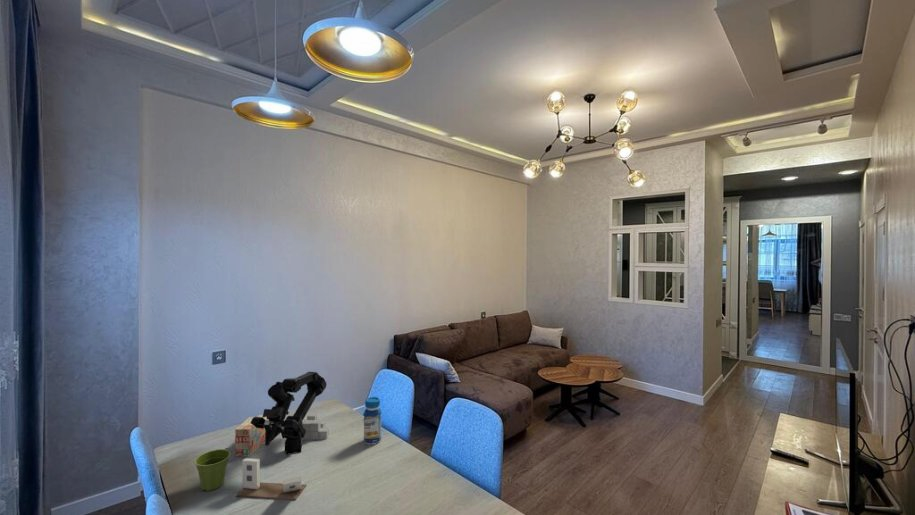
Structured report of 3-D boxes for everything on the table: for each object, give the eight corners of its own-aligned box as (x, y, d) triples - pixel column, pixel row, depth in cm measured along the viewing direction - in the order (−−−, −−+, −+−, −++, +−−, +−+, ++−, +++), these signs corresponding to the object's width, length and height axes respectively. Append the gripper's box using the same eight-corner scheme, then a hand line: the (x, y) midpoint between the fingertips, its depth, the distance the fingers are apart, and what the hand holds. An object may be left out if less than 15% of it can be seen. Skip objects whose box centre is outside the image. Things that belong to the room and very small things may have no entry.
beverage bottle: (385, 439, 182) (385, 398, 182) (372, 447, 175) (372, 404, 175) (372, 434, 187) (372, 394, 186) (359, 442, 179) (359, 400, 179)
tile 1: (283, 488, 142) (283, 479, 135) (301, 484, 144) (301, 475, 137) (283, 494, 141) (282, 485, 133) (301, 490, 143) (301, 481, 136)
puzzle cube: (326, 439, 182) (326, 423, 182) (301, 440, 182) (301, 423, 181) (333, 427, 194) (333, 412, 194) (309, 428, 194) (309, 413, 193)
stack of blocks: (259, 432, 188) (258, 408, 188) (271, 432, 189) (271, 408, 188) (235, 456, 167) (234, 428, 167) (249, 456, 167) (249, 428, 167)
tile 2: (245, 486, 145) (245, 458, 144) (259, 487, 144) (259, 459, 144) (241, 489, 142) (241, 461, 142) (256, 490, 142) (256, 462, 141)
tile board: (249, 483, 148) (249, 481, 147) (306, 486, 146) (306, 484, 146) (235, 496, 140) (235, 495, 140) (295, 499, 138) (295, 498, 138)
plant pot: (203, 499, 138) (203, 469, 138) (188, 488, 144) (188, 459, 144) (237, 482, 148) (236, 454, 148) (221, 473, 154) (221, 445, 154)
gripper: (253, 397, 158) (234, 436, 147) (294, 400, 156) (279, 440, 145) (265, 408, 166) (248, 446, 155) (305, 411, 164) (290, 449, 153)
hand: (266, 445), depth 152 cm, fingers closed
